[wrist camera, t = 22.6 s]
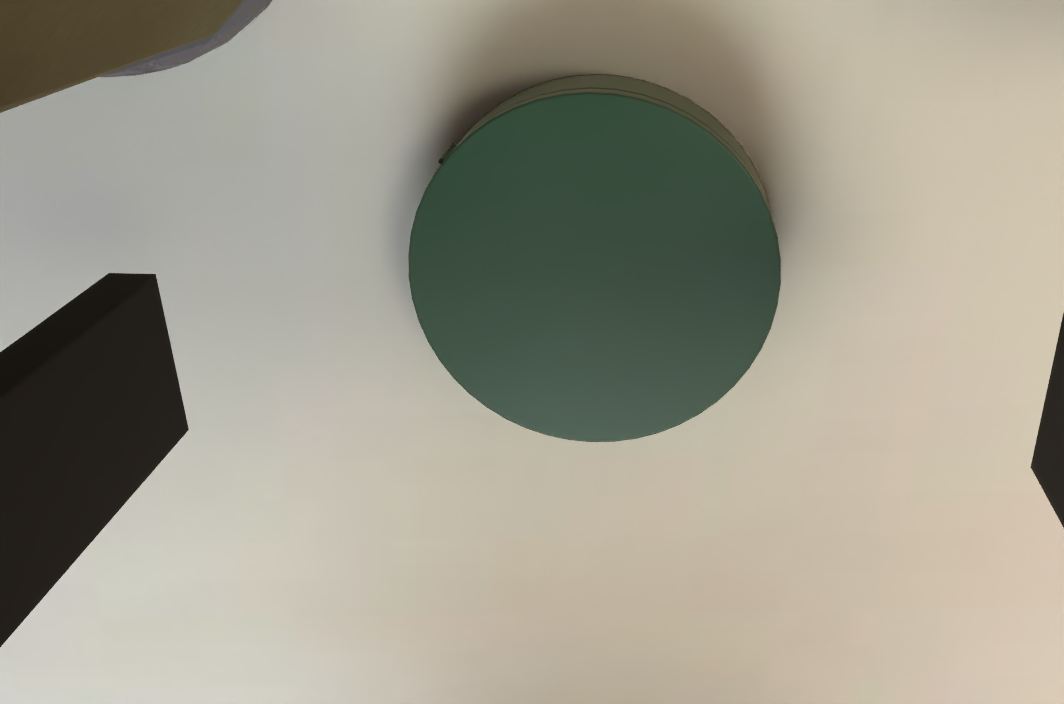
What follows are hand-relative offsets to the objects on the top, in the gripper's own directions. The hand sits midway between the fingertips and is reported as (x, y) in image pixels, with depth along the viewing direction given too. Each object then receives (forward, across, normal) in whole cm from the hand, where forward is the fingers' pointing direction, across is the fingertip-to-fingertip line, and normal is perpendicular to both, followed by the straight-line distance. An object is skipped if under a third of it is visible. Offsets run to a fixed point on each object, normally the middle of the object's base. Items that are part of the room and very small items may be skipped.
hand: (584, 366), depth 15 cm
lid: (+5, 0, 0) cm, 5 cm away
